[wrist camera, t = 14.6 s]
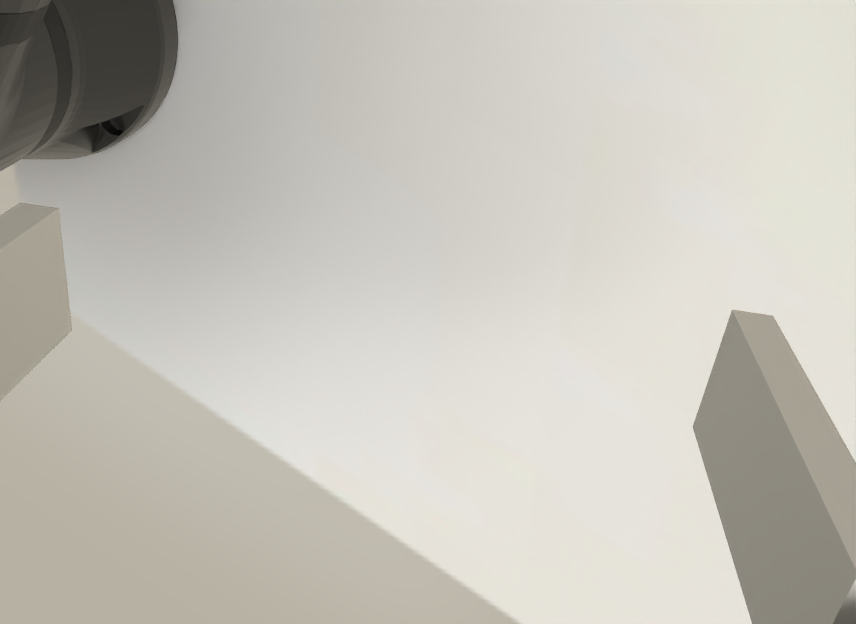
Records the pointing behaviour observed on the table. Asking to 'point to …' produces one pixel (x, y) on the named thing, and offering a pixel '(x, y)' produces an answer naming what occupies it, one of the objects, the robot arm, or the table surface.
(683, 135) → the table surface
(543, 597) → the table surface
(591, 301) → the table surface
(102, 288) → the table surface
